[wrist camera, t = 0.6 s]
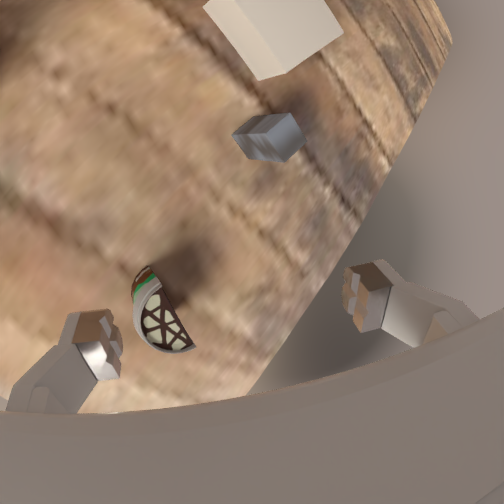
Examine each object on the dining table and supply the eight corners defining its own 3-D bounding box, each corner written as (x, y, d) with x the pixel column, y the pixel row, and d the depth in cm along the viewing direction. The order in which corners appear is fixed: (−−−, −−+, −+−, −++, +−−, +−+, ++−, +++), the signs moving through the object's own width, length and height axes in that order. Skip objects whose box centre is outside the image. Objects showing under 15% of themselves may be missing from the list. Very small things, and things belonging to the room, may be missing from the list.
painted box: (201, 7, 38) (223, -13, 32) (268, -24, 41) (295, -41, 34) (257, 81, 47) (286, 73, 41) (314, 41, 50) (344, 32, 43)
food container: (109, 276, 45) (118, 306, 36) (144, 257, 47) (160, 282, 38) (145, 335, 50) (162, 370, 42) (176, 317, 52) (198, 349, 44)
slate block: (231, 134, 48) (265, 133, 40) (253, 116, 49) (290, 112, 40) (248, 158, 50) (284, 162, 42) (269, 140, 51) (307, 141, 43)
